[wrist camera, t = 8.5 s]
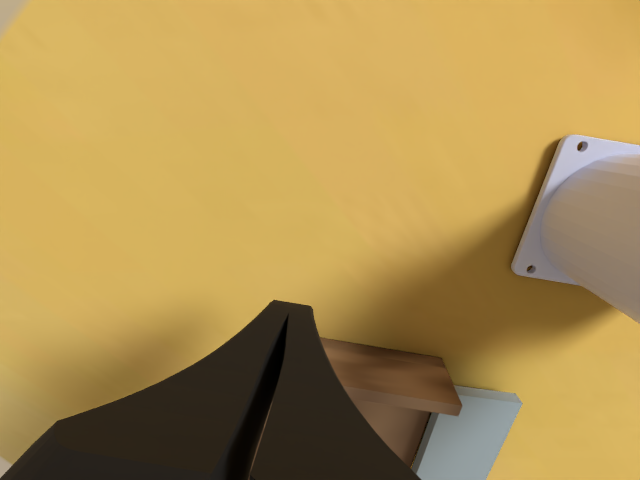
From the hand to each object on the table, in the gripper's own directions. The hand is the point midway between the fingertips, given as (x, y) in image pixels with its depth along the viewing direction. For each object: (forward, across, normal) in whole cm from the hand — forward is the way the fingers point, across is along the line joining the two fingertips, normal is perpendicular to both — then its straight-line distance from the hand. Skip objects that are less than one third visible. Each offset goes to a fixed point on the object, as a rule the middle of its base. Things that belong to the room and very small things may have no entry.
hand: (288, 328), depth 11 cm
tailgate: (+8, -10, +12) cm, 18 cm away
